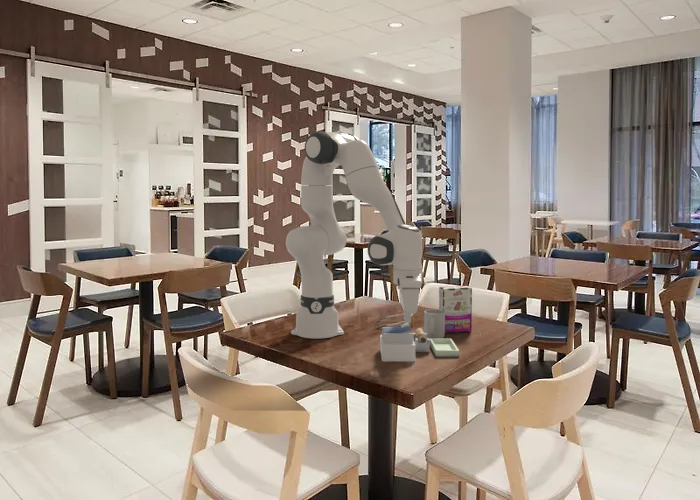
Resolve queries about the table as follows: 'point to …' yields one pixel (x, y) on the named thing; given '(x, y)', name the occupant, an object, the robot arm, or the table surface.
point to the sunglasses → (395, 323)
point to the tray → (444, 347)
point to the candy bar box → (456, 308)
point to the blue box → (398, 329)
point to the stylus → (421, 335)
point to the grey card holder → (397, 346)
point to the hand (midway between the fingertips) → (407, 322)
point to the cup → (434, 323)
